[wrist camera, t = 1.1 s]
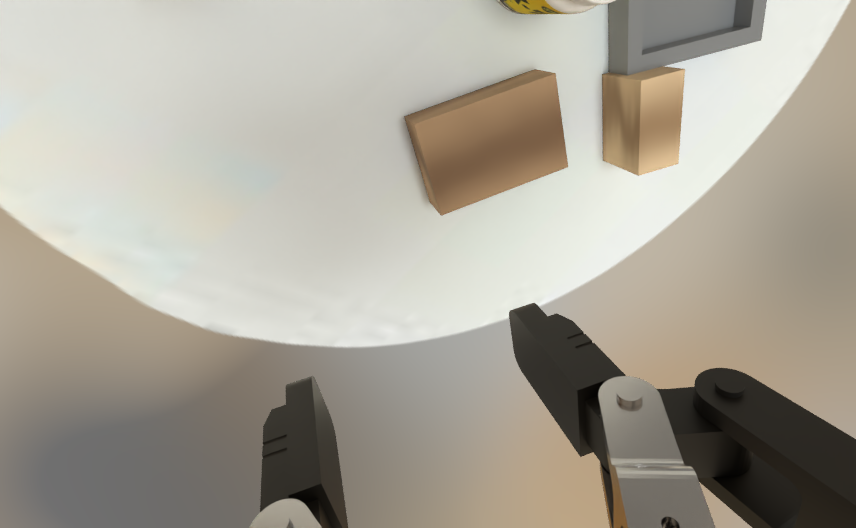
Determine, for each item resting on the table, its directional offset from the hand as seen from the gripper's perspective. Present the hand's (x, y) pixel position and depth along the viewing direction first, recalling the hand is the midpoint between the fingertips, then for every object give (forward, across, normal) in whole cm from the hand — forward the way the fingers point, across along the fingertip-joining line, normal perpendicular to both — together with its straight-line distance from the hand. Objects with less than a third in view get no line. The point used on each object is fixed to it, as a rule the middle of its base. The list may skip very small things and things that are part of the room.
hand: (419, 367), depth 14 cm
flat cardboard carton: (+20, -10, 0) cm, 22 cm away
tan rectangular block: (+20, -20, +1) cm, 28 cm away
